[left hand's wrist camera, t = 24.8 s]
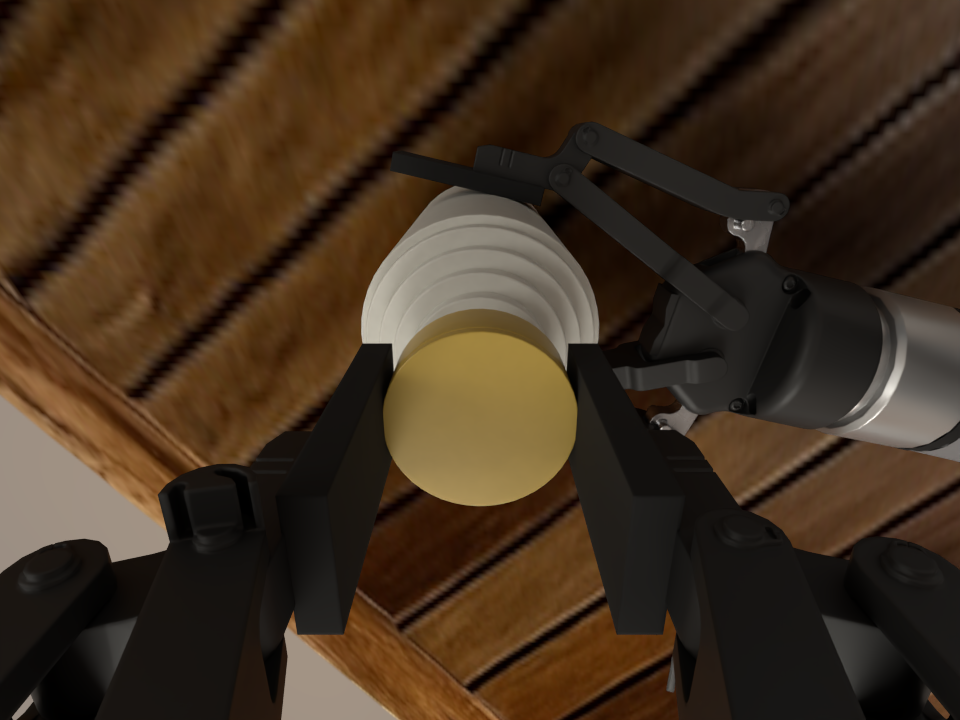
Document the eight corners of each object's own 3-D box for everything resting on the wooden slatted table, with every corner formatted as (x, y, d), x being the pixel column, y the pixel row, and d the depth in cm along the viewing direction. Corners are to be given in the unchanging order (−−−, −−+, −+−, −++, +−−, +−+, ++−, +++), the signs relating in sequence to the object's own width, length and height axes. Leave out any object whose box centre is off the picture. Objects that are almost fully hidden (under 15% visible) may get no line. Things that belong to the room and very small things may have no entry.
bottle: (387, 275, 33) (265, 454, 14) (455, 152, 30) (415, 173, 12) (501, 341, 34) (527, 581, 16) (575, 229, 32) (710, 356, 13)
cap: (548, 476, 16) (556, 517, 14) (385, 454, 15) (373, 493, 14) (584, 322, 14) (599, 347, 12) (402, 295, 14) (391, 317, 12)
